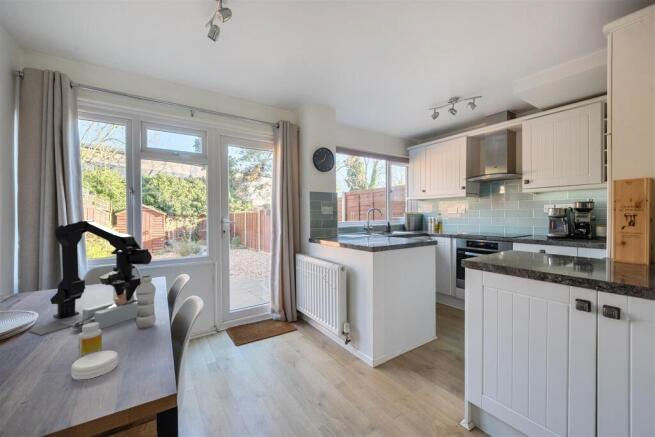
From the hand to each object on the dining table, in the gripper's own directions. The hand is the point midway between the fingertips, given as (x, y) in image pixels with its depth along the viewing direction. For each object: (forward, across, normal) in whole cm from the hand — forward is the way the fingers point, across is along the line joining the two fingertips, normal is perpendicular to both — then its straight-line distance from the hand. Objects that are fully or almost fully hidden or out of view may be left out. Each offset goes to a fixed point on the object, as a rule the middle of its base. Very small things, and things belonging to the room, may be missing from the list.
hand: (124, 299), depth 116 cm
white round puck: (+8, +37, -28) cm, 47 cm away
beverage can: (+8, -17, +10) cm, 21 cm away
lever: (+4, 0, -7) cm, 8 cm away
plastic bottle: (+7, +20, -4) cm, 22 cm away
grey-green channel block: (+7, 0, -3) cm, 8 cm away
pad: (+7, -11, -20) cm, 24 cm away
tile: (0, 0, 0) cm, 0 cm away
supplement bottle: (+7, +26, -24) cm, 36 cm away
